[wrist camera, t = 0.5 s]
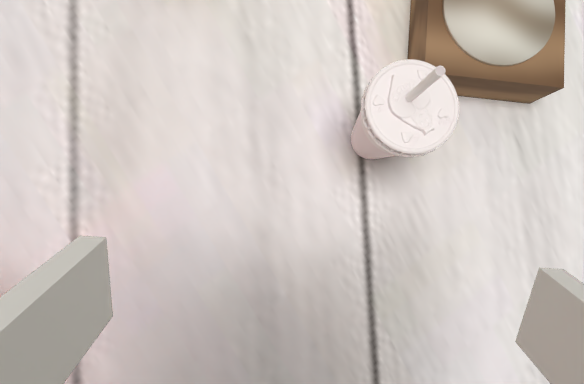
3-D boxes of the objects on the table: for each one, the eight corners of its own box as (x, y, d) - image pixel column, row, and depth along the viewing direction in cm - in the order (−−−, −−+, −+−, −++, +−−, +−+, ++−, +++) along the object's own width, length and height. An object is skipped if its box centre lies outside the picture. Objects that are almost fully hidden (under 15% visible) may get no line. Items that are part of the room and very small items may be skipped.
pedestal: (529, 103, 35) (567, 85, 30) (405, 89, 34) (426, 70, 29) (532, -17, 36) (569, -50, 31) (412, -32, 35) (433, -69, 31)
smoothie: (380, 92, 34) (461, 0, 20) (418, 151, 33) (527, 100, 20) (322, 127, 33) (363, 58, 19) (360, 187, 33) (430, 162, 19)
